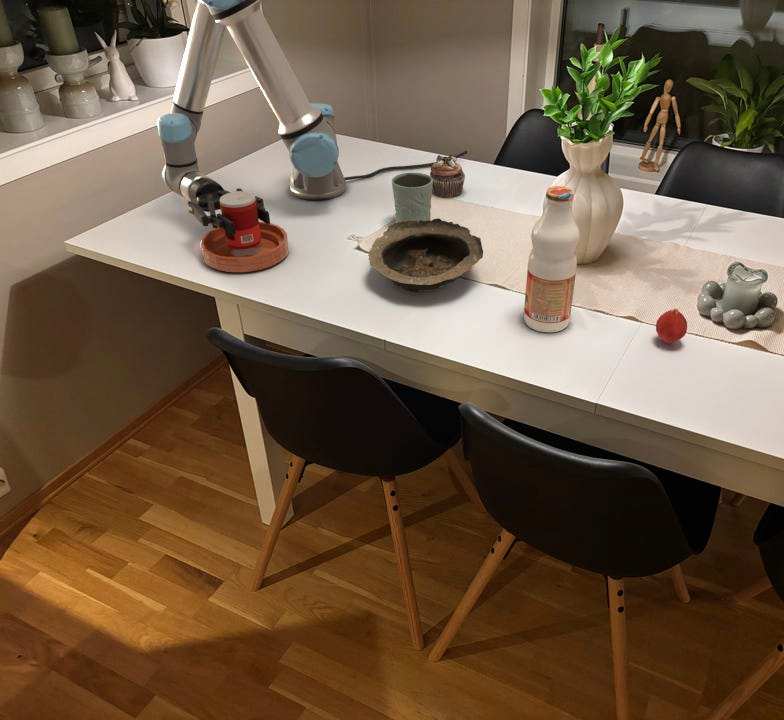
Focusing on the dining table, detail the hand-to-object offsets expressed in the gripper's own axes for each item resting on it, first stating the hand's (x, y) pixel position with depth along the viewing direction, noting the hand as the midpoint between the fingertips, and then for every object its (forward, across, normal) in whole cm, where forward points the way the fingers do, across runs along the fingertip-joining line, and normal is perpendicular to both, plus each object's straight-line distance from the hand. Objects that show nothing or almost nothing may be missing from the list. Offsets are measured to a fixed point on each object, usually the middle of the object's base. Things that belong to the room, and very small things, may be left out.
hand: (250, 223), depth 162 cm
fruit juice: (+61, -32, -9) cm, 69 cm away
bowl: (-5, 0, -10) cm, 11 cm away
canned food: (-5, 0, -7) cm, 8 cm away
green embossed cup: (+8, -40, -9) cm, 42 cm away
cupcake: (-2, -61, -9) cm, 62 cm away
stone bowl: (+31, -24, -10) cm, 41 cm away
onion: (+82, -44, -9) cm, 93 cm away
